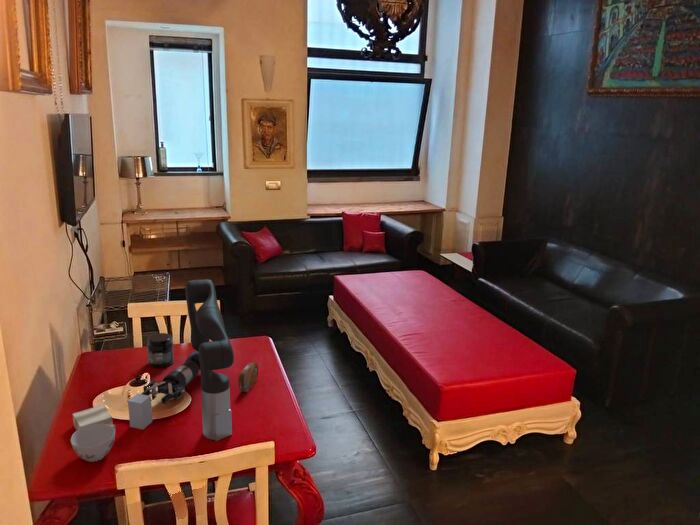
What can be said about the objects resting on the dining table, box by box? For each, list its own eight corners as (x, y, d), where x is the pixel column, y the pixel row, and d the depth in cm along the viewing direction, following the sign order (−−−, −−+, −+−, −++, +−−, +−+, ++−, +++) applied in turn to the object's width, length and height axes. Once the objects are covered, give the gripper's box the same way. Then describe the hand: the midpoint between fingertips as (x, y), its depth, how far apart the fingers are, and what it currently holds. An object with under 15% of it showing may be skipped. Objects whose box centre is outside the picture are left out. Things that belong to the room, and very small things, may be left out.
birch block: (113, 430, 183) (112, 417, 182) (81, 440, 177) (80, 427, 175) (104, 417, 190) (103, 404, 189) (74, 426, 184) (72, 413, 183)
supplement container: (165, 355, 238) (164, 330, 235) (178, 363, 232) (177, 337, 228) (143, 363, 230) (141, 337, 227) (156, 371, 224) (154, 344, 221)
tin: (244, 396, 207) (244, 376, 205) (237, 394, 208) (236, 375, 205) (258, 378, 221) (258, 359, 219) (251, 377, 222) (251, 358, 220)
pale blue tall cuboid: (152, 421, 188) (150, 396, 185) (143, 429, 183) (141, 403, 181) (139, 418, 190) (137, 393, 187) (130, 426, 185) (127, 400, 182)
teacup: (93, 473, 161) (91, 450, 158) (63, 462, 165) (60, 439, 163) (131, 446, 174) (129, 425, 172) (102, 436, 179) (100, 415, 176)
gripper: (161, 367, 207) (134, 386, 192) (194, 372, 203) (168, 393, 188) (162, 384, 209) (135, 405, 194) (194, 390, 205) (170, 412, 190)
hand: (152, 399), depth 191 cm, fingers open, 8 cm apart
